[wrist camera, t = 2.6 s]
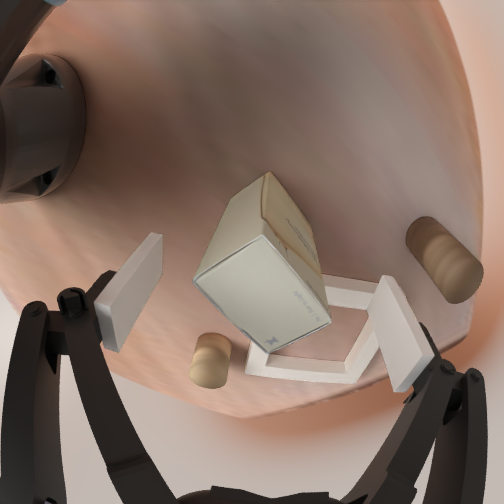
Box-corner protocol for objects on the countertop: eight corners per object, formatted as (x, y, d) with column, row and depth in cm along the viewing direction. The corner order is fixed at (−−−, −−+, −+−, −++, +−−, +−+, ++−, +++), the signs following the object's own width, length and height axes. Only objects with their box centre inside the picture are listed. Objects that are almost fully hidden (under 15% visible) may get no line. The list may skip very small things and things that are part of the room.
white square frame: (245, 361, 33) (244, 373, 32) (269, 264, 27) (269, 276, 25) (352, 371, 34) (354, 383, 32) (400, 286, 27) (407, 298, 25)
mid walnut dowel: (399, 250, 25) (435, 301, 18) (414, 212, 23) (459, 255, 16) (430, 257, 25) (468, 305, 18) (445, 221, 23) (490, 264, 16)
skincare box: (311, 226, 25) (339, 324, 14) (270, 252, 26) (268, 358, 15) (268, 167, 22) (266, 231, 12) (225, 198, 24) (188, 283, 13)
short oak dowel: (197, 352, 33) (188, 384, 29) (198, 329, 31) (189, 363, 27) (229, 358, 33) (224, 391, 29) (233, 336, 31) (228, 370, 27)
